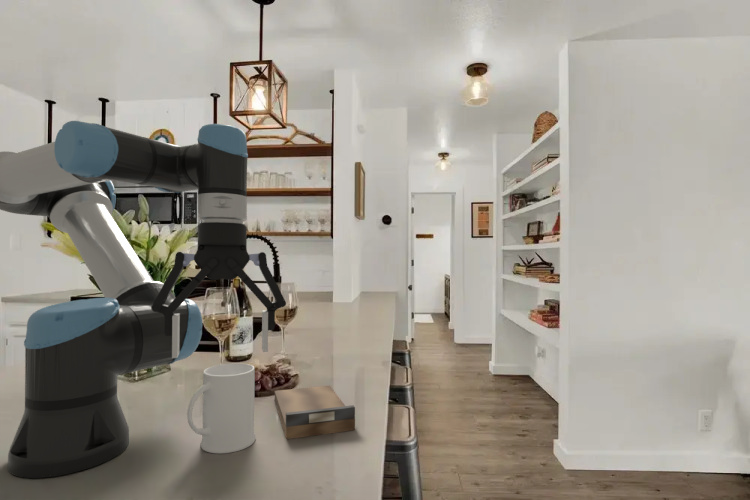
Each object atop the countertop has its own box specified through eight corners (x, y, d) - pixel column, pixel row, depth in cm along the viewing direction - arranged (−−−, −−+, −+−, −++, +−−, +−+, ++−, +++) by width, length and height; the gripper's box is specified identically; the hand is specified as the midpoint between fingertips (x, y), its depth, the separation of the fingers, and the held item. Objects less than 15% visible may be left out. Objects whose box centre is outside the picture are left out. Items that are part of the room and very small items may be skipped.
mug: (200, 468, 61) (201, 384, 61) (170, 451, 66) (171, 374, 67) (266, 439, 71) (266, 367, 71) (235, 427, 76) (236, 360, 76)
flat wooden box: (286, 439, 71) (286, 415, 71) (274, 400, 90) (274, 381, 90) (355, 430, 75) (355, 407, 75) (329, 394, 94) (330, 376, 94)
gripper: (131, 218, 61) (129, 364, 61) (302, 222, 70) (302, 352, 69) (141, 222, 69) (139, 353, 68) (296, 226, 77) (295, 343, 76)
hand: (221, 353), depth 69 cm, fingers open, 13 cm apart
